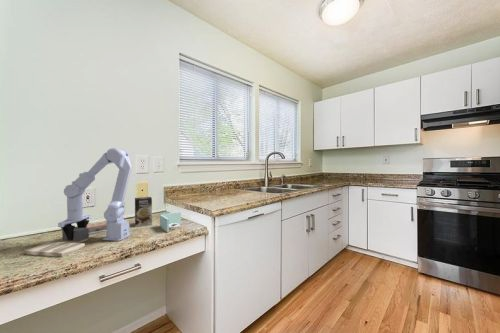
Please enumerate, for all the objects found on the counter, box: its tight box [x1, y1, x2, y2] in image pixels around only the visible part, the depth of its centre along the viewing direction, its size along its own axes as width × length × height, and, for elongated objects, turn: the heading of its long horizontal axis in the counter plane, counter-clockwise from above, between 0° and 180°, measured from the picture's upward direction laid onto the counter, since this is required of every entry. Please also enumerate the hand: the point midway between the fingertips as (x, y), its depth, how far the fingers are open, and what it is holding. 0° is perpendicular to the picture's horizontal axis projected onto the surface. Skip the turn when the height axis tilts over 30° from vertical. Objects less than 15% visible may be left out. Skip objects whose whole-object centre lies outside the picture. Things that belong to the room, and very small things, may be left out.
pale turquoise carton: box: [159, 211, 182, 233], centre depth 123 cm, size 12×12×8 cm
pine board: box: [23, 240, 86, 258], centre depth 92 cm, size 18×10×2 cm, turn 82°
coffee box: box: [134, 196, 153, 228], centre depth 128 cm, size 9×6×16 cm
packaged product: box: [86, 220, 107, 236], centre depth 119 cm, size 18×5×10 cm
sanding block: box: [61, 226, 90, 243], centre depth 103 cm, size 9×5×6 cm, turn 82°
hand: (75, 237), depth 103 cm, fingers closed on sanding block, 5 cm apart
